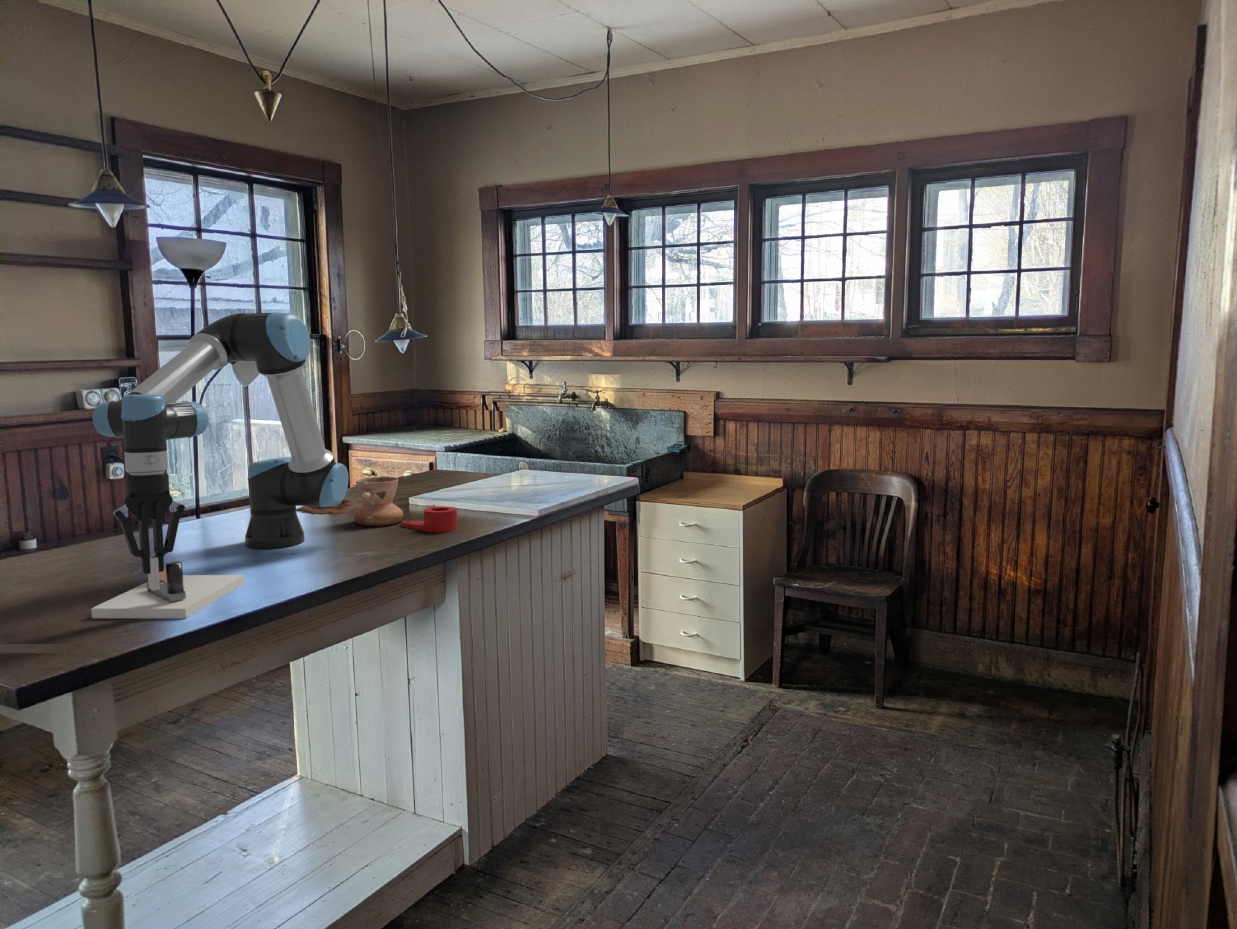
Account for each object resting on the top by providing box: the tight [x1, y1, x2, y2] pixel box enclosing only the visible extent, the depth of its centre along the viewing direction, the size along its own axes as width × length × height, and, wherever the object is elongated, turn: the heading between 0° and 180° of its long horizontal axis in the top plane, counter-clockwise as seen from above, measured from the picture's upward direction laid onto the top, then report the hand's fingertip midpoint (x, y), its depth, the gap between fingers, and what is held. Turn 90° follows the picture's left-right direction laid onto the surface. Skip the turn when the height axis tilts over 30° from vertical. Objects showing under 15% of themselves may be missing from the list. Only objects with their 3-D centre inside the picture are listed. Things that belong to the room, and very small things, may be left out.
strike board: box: [90, 565, 246, 619], centre depth 188 cm, size 26×19×5 cm
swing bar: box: [147, 561, 186, 602], centre depth 184 cm, size 14×4×8 cm, turn 46°
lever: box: [401, 506, 459, 534], centre depth 259 cm, size 18×9×7 cm, turn 68°
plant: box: [296, 495, 362, 515], centre depth 288 cm, size 20×20×11 cm
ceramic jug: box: [353, 475, 404, 528], centre depth 266 cm, size 18×14×14 cm
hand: (154, 588), depth 178 cm, fingers closed
